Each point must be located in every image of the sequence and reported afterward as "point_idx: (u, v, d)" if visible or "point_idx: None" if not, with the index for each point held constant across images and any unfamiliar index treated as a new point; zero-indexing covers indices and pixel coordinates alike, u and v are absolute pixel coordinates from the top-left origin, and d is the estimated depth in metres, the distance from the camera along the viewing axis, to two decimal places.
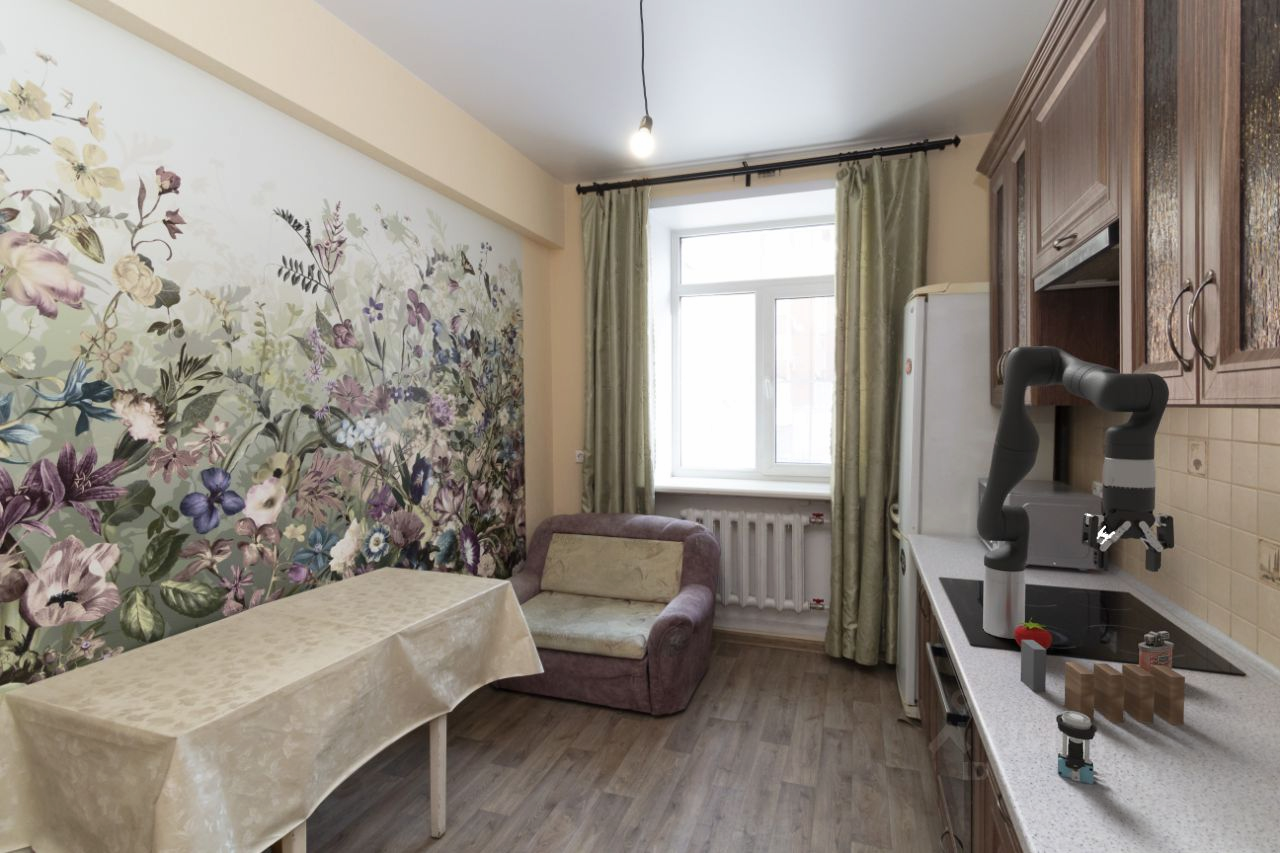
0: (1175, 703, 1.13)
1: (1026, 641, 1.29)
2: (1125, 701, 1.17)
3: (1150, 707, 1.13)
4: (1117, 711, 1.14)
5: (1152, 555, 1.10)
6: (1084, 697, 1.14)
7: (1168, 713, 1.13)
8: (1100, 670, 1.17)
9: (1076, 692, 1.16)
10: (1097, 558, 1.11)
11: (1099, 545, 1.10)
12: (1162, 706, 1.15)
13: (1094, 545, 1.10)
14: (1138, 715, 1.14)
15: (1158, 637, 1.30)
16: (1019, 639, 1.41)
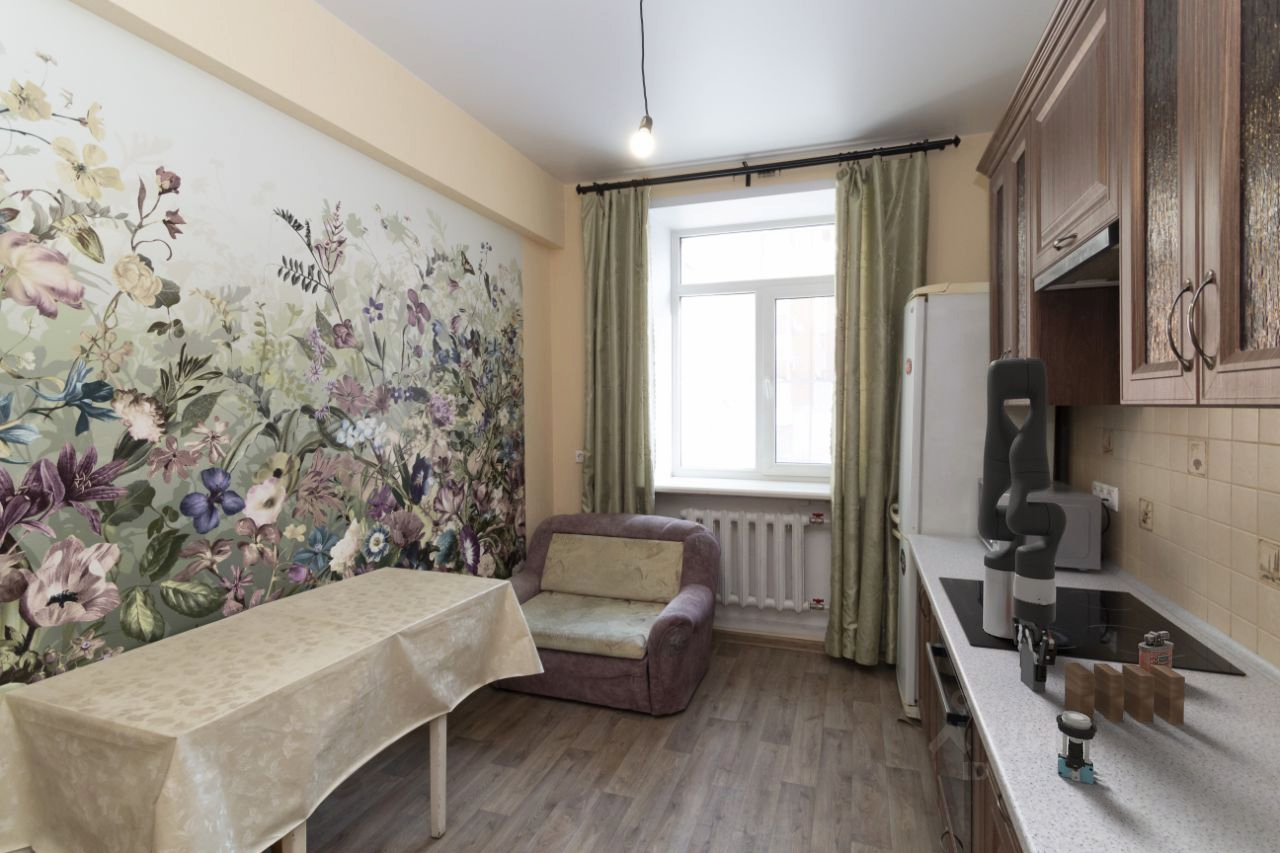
0: (1175, 703, 1.13)
1: None
2: (1125, 701, 1.17)
3: (1150, 707, 1.13)
4: (1117, 711, 1.14)
5: None
6: (1084, 697, 1.14)
7: (1168, 713, 1.13)
8: (1100, 670, 1.17)
9: (1076, 692, 1.16)
10: (1045, 673, 1.24)
11: None
12: (1162, 706, 1.15)
13: None
14: (1138, 715, 1.14)
15: (1158, 637, 1.30)
16: None
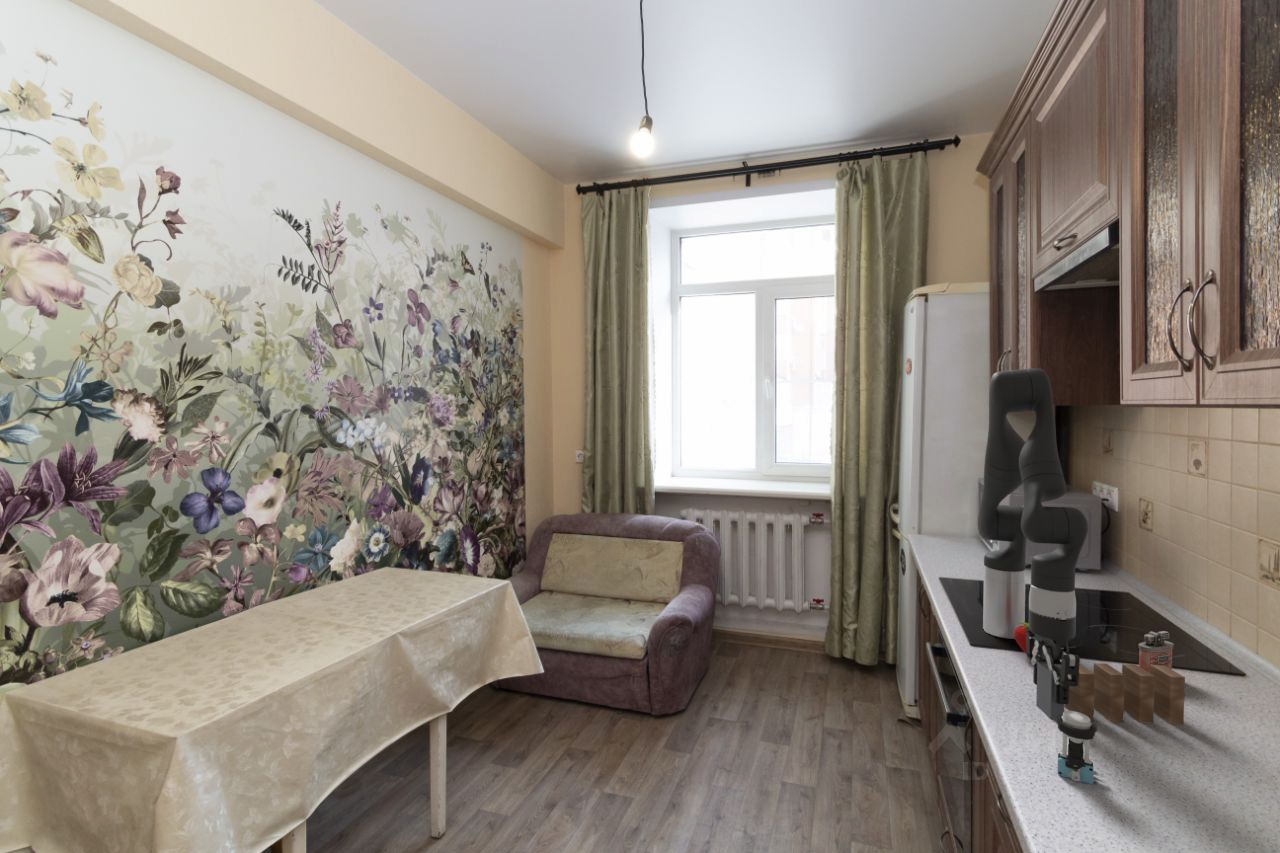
0: (1175, 703, 1.13)
1: (1043, 663, 1.19)
2: (1125, 701, 1.17)
3: (1150, 707, 1.13)
4: (1117, 711, 1.14)
5: None
6: (1084, 697, 1.14)
7: (1168, 713, 1.13)
8: (1100, 670, 1.17)
9: (1076, 692, 1.16)
10: (1067, 694, 1.13)
11: None
12: (1162, 706, 1.15)
13: None
14: (1138, 715, 1.14)
15: (1158, 637, 1.30)
16: (1019, 639, 1.41)
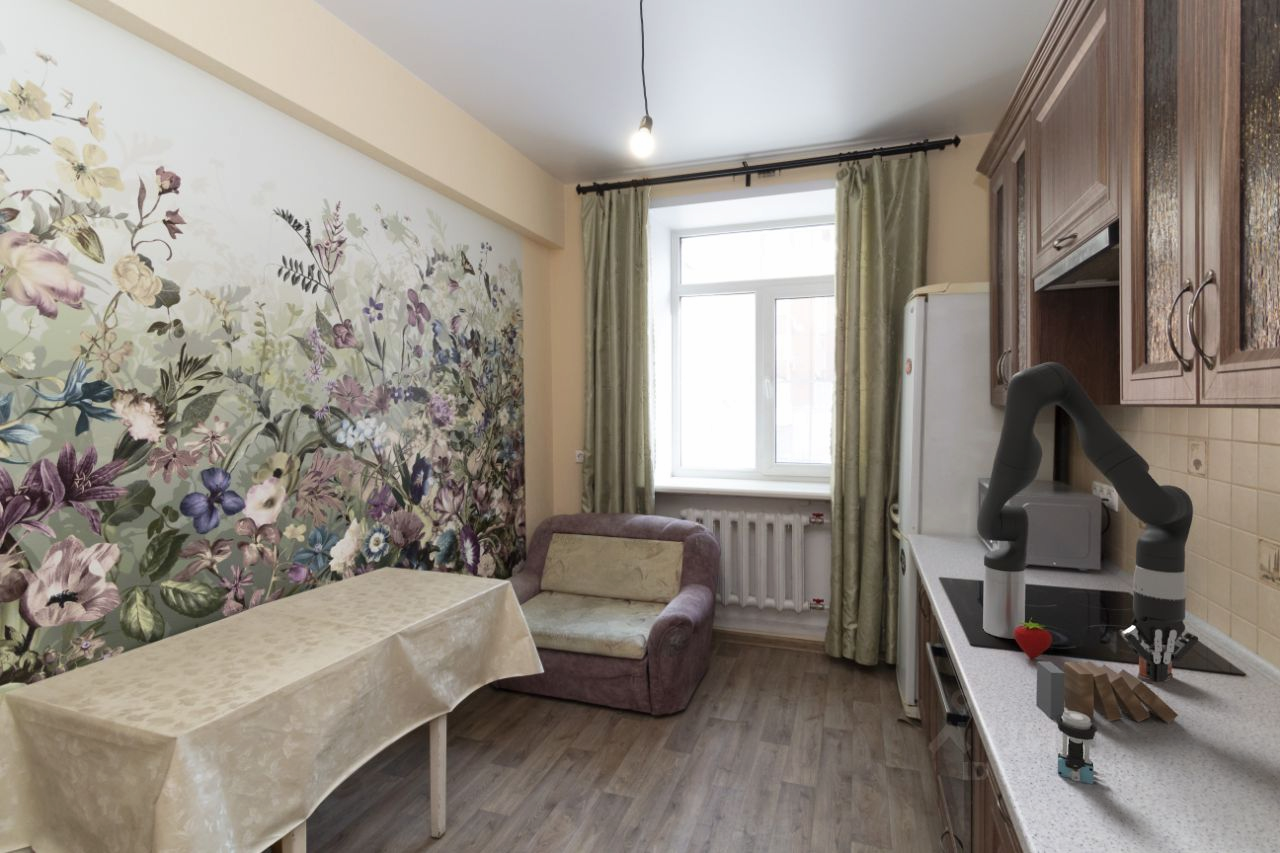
0: (1155, 705, 1.13)
1: (1042, 663, 1.19)
2: (1118, 703, 1.17)
3: (1138, 704, 1.13)
4: (1113, 709, 1.14)
5: None
6: (1083, 697, 1.14)
7: (1159, 716, 1.13)
8: None
9: (1075, 692, 1.16)
10: None
11: None
12: (1151, 709, 1.15)
13: None
14: (1133, 716, 1.14)
15: None
16: (1019, 639, 1.41)
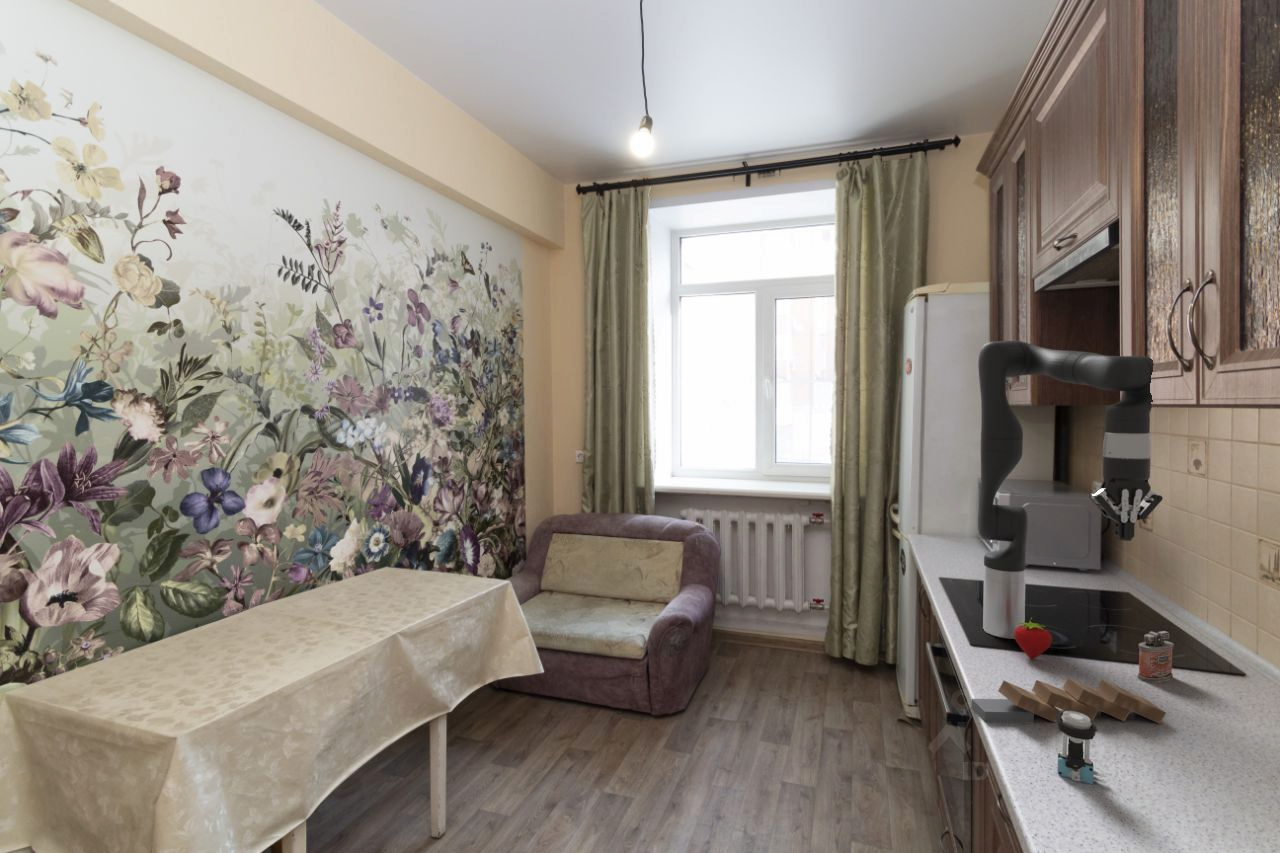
0: (1141, 710, 1.13)
1: (973, 710, 1.18)
2: None
3: (1113, 706, 1.14)
4: (1085, 710, 1.14)
5: None
6: (1038, 711, 1.13)
7: (1149, 718, 1.13)
8: None
9: None
10: None
11: None
12: None
13: None
14: None
15: (1158, 637, 1.30)
16: (1019, 639, 1.41)
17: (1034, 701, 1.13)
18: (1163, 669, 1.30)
